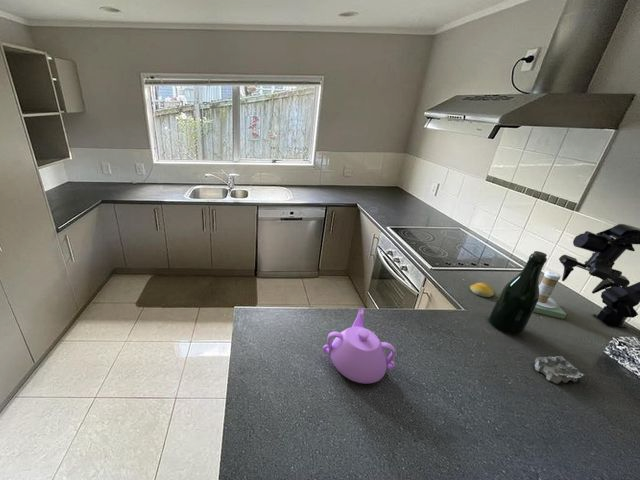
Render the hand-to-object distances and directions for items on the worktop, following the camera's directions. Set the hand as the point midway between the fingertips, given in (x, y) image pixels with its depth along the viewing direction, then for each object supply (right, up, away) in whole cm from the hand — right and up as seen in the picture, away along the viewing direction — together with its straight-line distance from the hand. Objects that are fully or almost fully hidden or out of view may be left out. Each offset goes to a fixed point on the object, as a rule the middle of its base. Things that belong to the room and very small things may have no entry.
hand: (577, 286), depth 114 cm
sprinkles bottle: (-8, -7, +7) cm, 13 cm away
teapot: (-99, -20, -21) cm, 103 cm away
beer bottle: (-34, -15, -4) cm, 37 cm away
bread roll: (-26, -6, +17) cm, 32 cm away
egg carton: (-35, -23, -23) cm, 48 cm away
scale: (-8, -10, +9) cm, 16 cm away
